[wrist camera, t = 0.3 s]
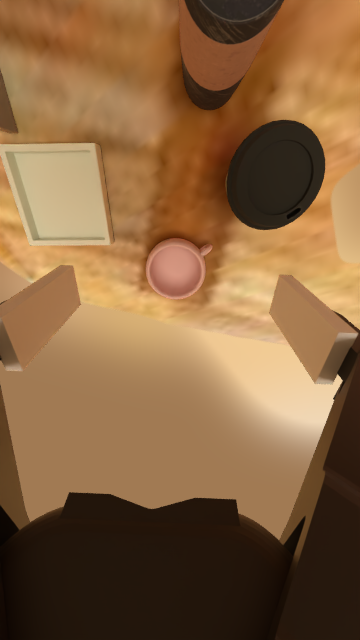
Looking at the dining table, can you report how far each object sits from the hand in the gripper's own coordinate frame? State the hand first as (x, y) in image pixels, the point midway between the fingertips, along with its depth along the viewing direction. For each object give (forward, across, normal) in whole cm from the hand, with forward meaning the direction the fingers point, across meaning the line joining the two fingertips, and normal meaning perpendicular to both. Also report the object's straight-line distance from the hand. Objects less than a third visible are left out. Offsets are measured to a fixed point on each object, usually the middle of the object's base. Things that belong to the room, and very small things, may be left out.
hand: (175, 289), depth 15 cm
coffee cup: (+28, +10, +7) cm, 30 cm away
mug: (+28, 0, -6) cm, 29 cm away
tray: (+28, -19, +3) cm, 34 cm away
